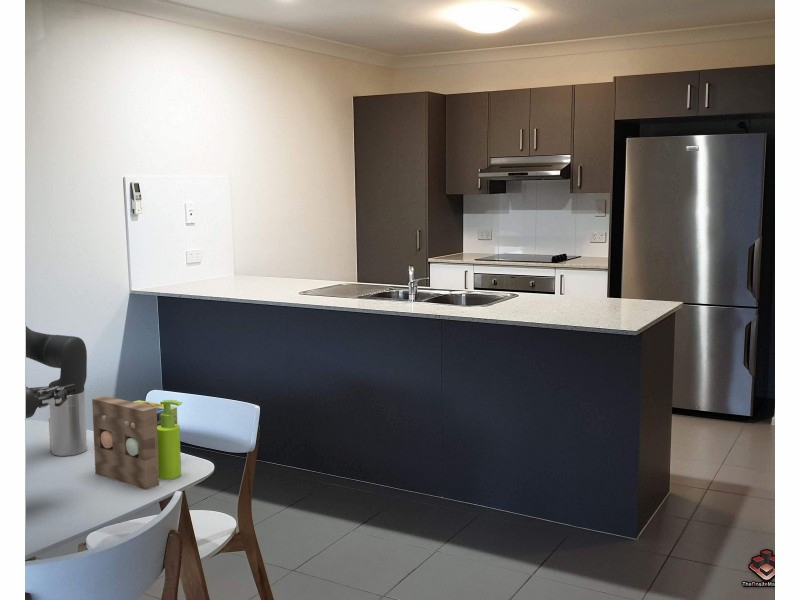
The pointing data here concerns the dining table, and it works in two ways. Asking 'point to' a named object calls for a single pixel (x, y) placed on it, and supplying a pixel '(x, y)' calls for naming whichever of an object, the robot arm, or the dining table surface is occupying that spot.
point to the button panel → (125, 424)
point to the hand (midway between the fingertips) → (75, 388)
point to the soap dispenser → (169, 443)
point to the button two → (132, 446)
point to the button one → (107, 439)
